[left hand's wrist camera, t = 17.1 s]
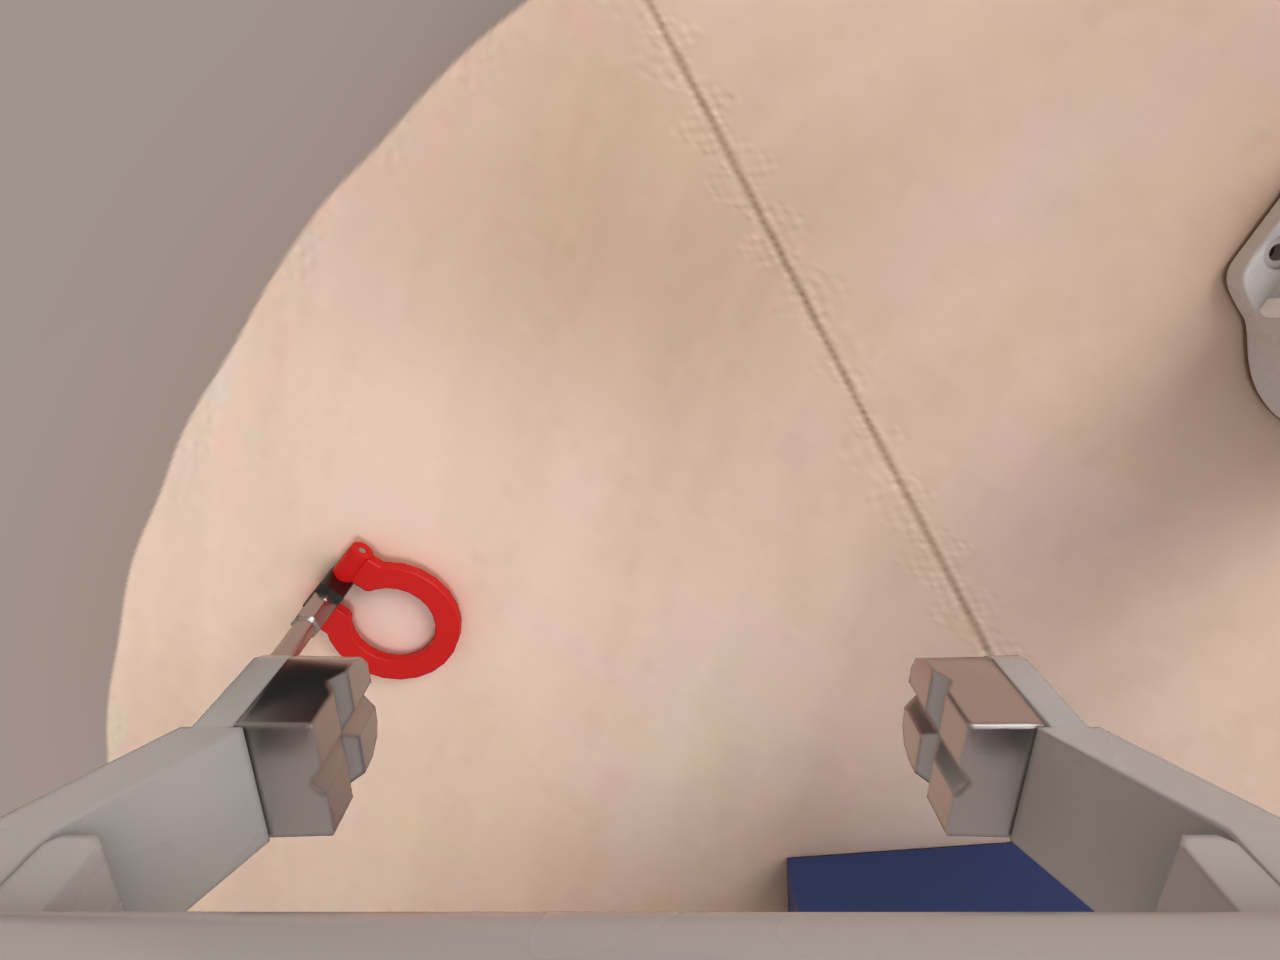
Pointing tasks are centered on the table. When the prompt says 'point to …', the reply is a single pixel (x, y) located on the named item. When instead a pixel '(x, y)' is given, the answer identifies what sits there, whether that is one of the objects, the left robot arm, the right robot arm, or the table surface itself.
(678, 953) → the left robot arm
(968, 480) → the table surface
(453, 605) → the tow hook
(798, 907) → the box
